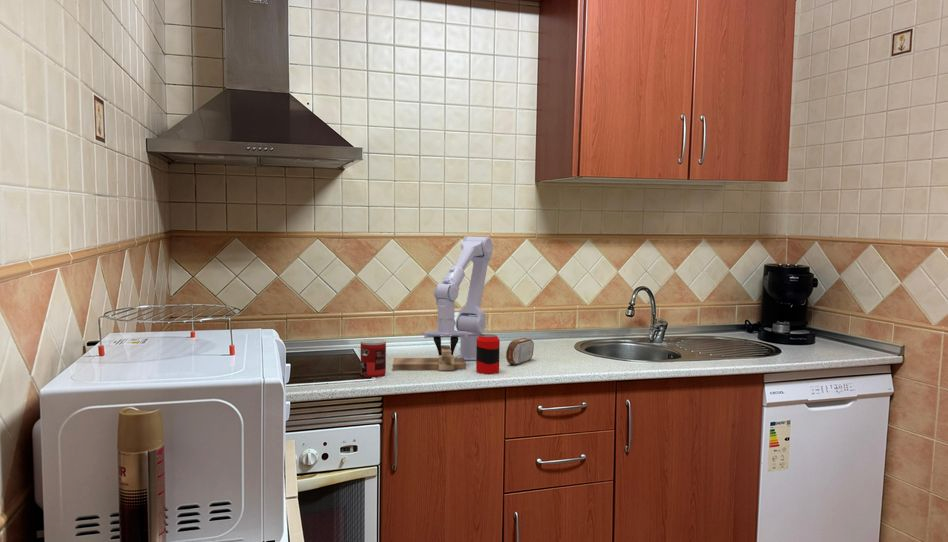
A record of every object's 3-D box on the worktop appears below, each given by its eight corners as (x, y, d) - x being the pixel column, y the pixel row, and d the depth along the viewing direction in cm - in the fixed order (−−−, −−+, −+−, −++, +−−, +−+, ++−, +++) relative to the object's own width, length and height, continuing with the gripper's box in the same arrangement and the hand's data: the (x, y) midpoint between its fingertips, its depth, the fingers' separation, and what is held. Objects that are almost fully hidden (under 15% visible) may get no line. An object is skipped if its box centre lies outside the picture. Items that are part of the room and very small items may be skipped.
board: (463, 363, 224) (463, 357, 223) (465, 369, 214) (465, 363, 213) (393, 363, 221) (393, 358, 221) (392, 370, 211) (392, 364, 211)
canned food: (361, 372, 208) (361, 338, 208) (386, 372, 209) (386, 338, 208) (359, 378, 201) (359, 343, 200) (385, 377, 201) (385, 343, 201)
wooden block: (452, 362, 223) (452, 345, 222) (454, 370, 211) (454, 351, 211) (437, 362, 222) (437, 345, 222) (438, 370, 211) (439, 351, 210)
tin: (527, 358, 232) (528, 335, 232) (535, 360, 231) (535, 336, 230) (505, 366, 220) (505, 341, 219) (512, 367, 218) (513, 342, 218)
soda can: (480, 368, 216) (480, 332, 215) (501, 370, 214) (502, 334, 213) (473, 373, 209) (473, 336, 208) (495, 375, 206) (496, 338, 206)
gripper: (424, 320, 212) (424, 361, 213) (468, 320, 213) (467, 361, 214) (424, 317, 219) (424, 356, 220) (466, 317, 220) (466, 356, 221)
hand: (445, 358), depth 218 cm, fingers closed on wooden block, 3 cm apart
